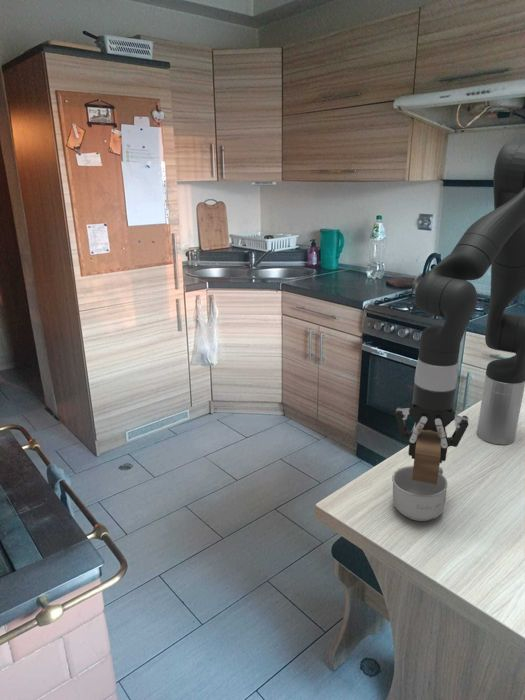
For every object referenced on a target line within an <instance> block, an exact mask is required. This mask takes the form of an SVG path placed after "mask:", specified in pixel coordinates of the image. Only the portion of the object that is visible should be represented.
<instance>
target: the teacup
mask: <svg viewBox="0 0 525 700" xmlns="http://www.w3.org/2000/svg"><path fill="white" fill-rule="evenodd" d="M413 467H414V465H408V466H407V465H406V466H403V467H401V468H400V467H399V468H398V469H397V470H395V471H394V472H393V473H392V476H391V479H392V500H393V504H394V506H395V508H396V510H397V511H398V512H399V513H400V514H402V515H404V516H405V517H407V518H408V519H410V520H412V521H417V522H427V521H430V520H433V519H435V518H437V517H439V516H440V515H441V514H442V513H443V512H444V509H445V505H446V502H447V490H448V485H449V484H448V479H446V477H445V476H444V475H443V473H444V472H443V471H444V470H443V468H442V467H441V466H439V472H438V480H437V485H436V484H431V483H425V482H420V481H414V480H412V476H413Z"/></svg>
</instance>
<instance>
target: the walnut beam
mask: <svg viewBox="0 0 525 700" xmlns="http://www.w3.org/2000/svg"><path fill="white" fill-rule="evenodd" d="M440 454H441V441H440V439H439V436H438V432H434V431H431V430H422V431H421V433H420V435H419V436H418V438H417V441H416V449H415V457H414V459H413V466H414V467H413V476H412V480H414V481H420V482H425V483H431V484H436V485H437V480H438V472H439V467H440V464H441V463H440Z"/></svg>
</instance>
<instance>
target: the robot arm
mask: <svg viewBox="0 0 525 700" xmlns="http://www.w3.org/2000/svg"><path fill="white" fill-rule="evenodd" d="M492 182H493V207H494V209H493V210H491V211H489V212H488V213H486V214H485V215H483V216H481V217H480V218H479V219H477V220H476V221H475V222H473V223H472V224H471V225H470V226H469V227H468V228H467V229H466V230H465V232H464V233H463V235H462V236H461V237H460V239H459V240H458V241H457V244H456V245H455V246H454V248H453V249H452V251H451V252H450V253H449V255H447V256H445V257H444V258H443V259H442V260H440V261H439V262H438V263H437V264H436V265H434V266H433V267H432V268H431V269H430V270H429V271H428V272H427V273H425V275H423V277H422V278H421V279H420V280H419V282H418V283H417V285H416V288H415V291H414V295H413V296H414V299H413V300H414V304H415V306H416V308H417V309H418V310H419V311H421V312H423V313H425V314H429V315H434V316H437V317H440V318H445V320H444V324H443V325H433V326H428V327H425V328H424V329H422V331H421V333H420V339H419V348H418V358H417V363H416V366H415V367H416V368H415V374H414V376H413V377H414V384H413V393H412V402H411V404H410V406H409V407H406V408H403V407H401V406H398V407H396V410H395V414H394V416H395V419H396V423H397V428H398V432H399V436H400V438H401V439H402V440H407V441H408V443H409V444H408V456H409V457H410V456H411V459H412V460H414V457H415V449H416V441H417V438H418V436H419V435H420V433H421V431H422V430H431V431H434V432H438V436H439V439H440V441H441V454H440V464H442V463H443V462H445V461H446V460H447V451H448V448H449V447H454V448H457V447H458V445H459V444H460V442H461V440H462V438H463V437H464V434H465V432H466V431H467V429H468V427H469V416H468V415H463V416H461V415H458V414H456V412H455V410H454V405H455V399H456V390H457V385H458V374H459V365H458V364H459V355H460V349H461V342H462V341H463V340H462V339H463V337H464V334H465V331H466V329H467V327H468V324H469V322H470V320H471V318H472V315H473V313H474V312H475V310H476V307H477V305H478V291H477V289H476V287H475V285H474V284H473V283H472V282H470V281H475V280H478V279H481V278H482V277H484V275H485V274H486V273H487V272H488V270H489V269H490V296H489V306H488V311H487V318H486V324H485V333H484V334H485V335H484V336H485V337H484V339H485V340H484V341H485V344H486V346H487V347H488V348H489V349H491V350H494V351H501V352H507V353H511V354H515V355H513V356H510V357H506V358H502V359H501V358H500V359H495V360H492V361H489V362H488V364H487V365H486V370H485V377H484V382H483V391H482V397H481V401H480V408H479V415H478V421H477V429H476V435H477V436H478V437H479V438H480V439H481V440H483V441H485V442H487V443H489V444H494V445H509V444H510V445H511V444H512V443H514V442H515V441H516V433H517V429H518V424H519V419H520V413H521V407H522V402H523V398H524V392H525V315H519V314H510V313H505V310H506V308H507V307H508V306H509V305H510V303H512V301H513V300H514V299H516V298H517V297H518V296H519V295H520V294H521V293H523V292H524V291H525V141H510V142H507V143H505V144H504V145H502V146H501V148H500V150H499V151H498V154H497V155H496V159H495V162H494V168H493V181H492ZM408 415H410V417H411V419H412V420H413V421H414V425H413V426H412V430H411V431H410V430H408V426H407V422H406V420H407V419H408ZM453 421H454V426H455V427H456V428H455V429H454V431H453V433H452V435H451V436H449V437H448V434H447V430H446V427H448V425H450V424H451V423H452V422H453Z"/></svg>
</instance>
